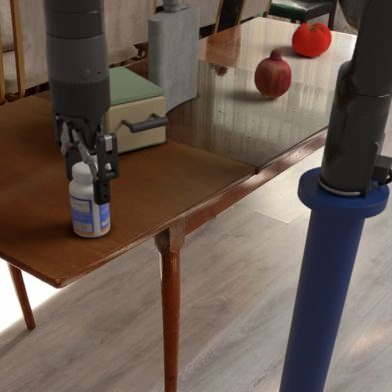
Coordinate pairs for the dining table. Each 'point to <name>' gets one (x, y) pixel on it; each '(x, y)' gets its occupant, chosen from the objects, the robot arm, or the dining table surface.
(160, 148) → the dining table surface
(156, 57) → the hip flask
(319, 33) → the tomato
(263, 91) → the fruit
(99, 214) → the pill bottle
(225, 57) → the dining table surface
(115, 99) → the cabinet
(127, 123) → the drawer
